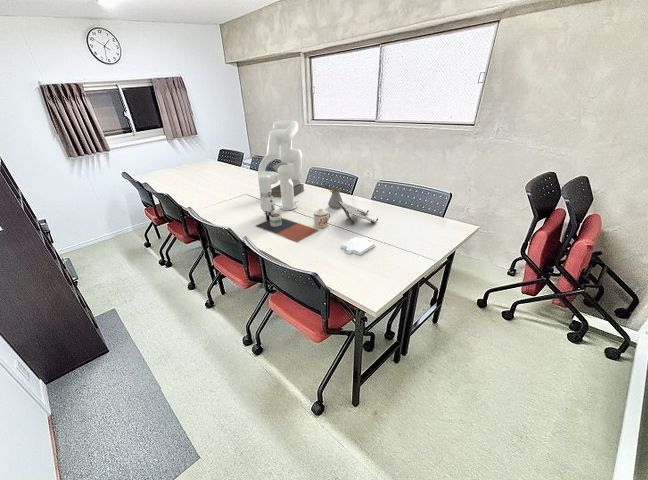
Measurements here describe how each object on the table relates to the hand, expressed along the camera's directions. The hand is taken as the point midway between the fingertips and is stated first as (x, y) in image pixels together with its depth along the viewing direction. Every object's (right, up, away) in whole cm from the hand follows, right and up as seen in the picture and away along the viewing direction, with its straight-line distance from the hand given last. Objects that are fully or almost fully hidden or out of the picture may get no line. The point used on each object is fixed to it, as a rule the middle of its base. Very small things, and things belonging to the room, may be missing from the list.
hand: (268, 220), depth 196 cm
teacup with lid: (+36, -5, -9) cm, 38 cm away
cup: (+5, -4, -3) cm, 7 cm away
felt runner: (+12, -7, -9) cm, 16 cm away
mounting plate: (+53, -22, -37) cm, 68 cm away
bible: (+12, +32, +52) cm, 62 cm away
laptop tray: (+60, -1, -6) cm, 61 cm away
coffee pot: (+46, +14, +20) cm, 53 cm away
